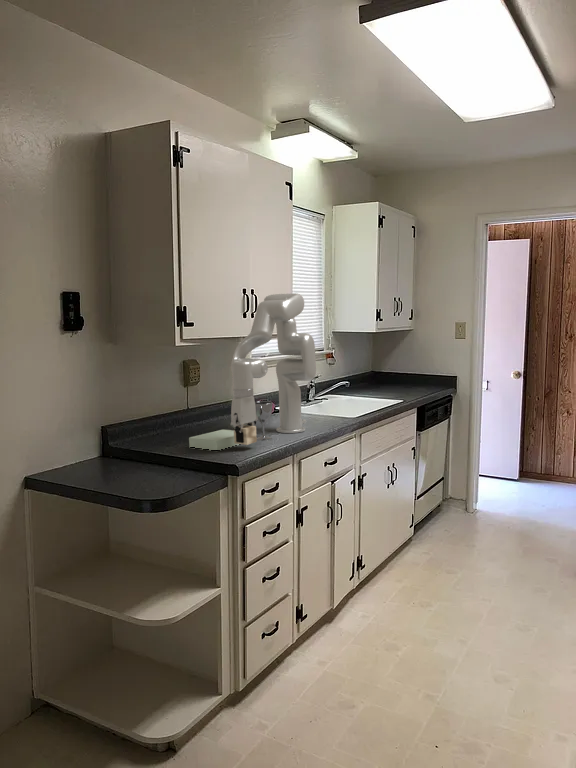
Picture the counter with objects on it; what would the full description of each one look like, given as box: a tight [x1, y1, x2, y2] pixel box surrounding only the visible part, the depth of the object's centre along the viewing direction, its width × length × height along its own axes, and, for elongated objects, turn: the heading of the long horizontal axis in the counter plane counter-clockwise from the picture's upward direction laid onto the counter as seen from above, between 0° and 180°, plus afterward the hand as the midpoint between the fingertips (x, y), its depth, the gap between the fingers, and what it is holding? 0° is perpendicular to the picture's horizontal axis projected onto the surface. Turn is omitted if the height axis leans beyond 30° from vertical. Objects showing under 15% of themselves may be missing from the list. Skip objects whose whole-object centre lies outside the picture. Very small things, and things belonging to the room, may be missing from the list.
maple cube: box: [233, 424, 258, 446], centre depth 236 cm, size 6×6×6 cm
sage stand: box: [188, 429, 240, 451], centre depth 246 cm, size 20×14×4 cm
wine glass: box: [255, 400, 273, 441], centre depth 255 cm, size 8×8×15 cm
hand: (245, 440), depth 237 cm, fingers closed on maple cube, 6 cm apart
